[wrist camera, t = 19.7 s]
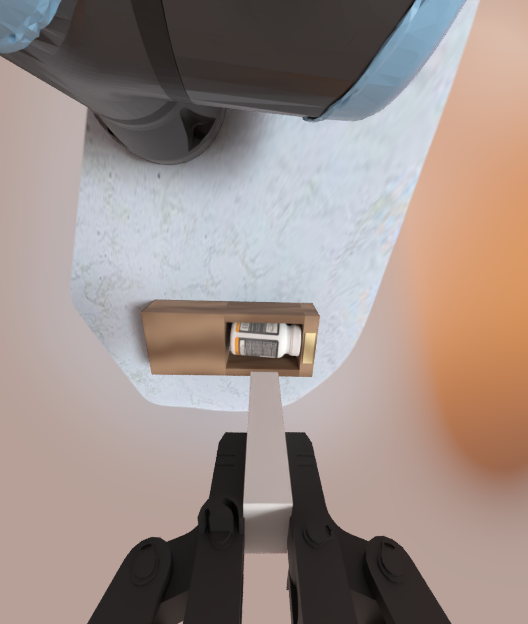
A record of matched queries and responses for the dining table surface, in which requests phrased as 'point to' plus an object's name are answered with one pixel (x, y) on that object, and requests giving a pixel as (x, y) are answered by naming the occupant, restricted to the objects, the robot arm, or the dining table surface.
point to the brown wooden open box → (222, 337)
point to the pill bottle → (265, 339)
